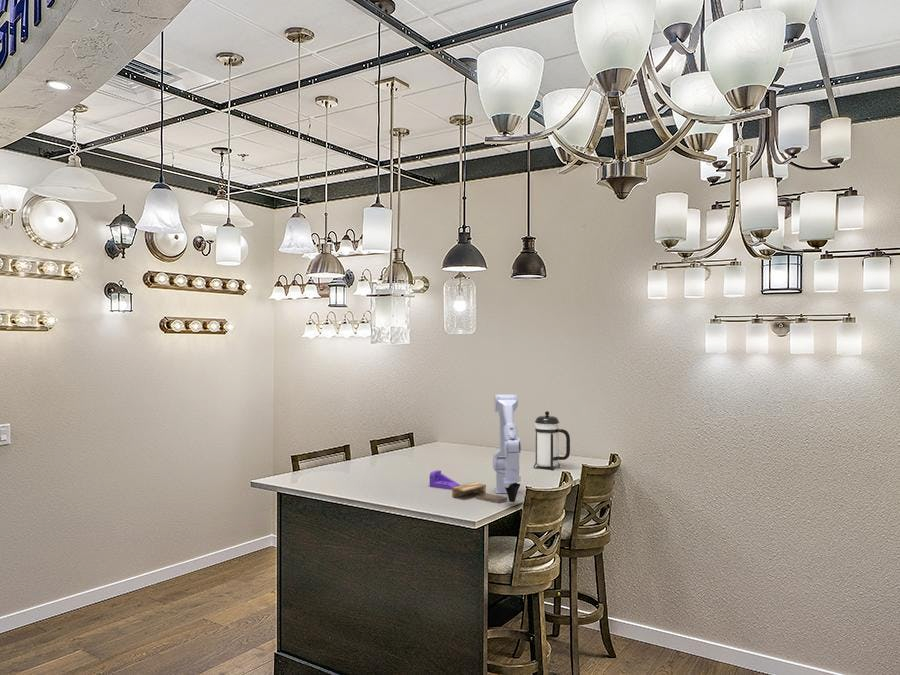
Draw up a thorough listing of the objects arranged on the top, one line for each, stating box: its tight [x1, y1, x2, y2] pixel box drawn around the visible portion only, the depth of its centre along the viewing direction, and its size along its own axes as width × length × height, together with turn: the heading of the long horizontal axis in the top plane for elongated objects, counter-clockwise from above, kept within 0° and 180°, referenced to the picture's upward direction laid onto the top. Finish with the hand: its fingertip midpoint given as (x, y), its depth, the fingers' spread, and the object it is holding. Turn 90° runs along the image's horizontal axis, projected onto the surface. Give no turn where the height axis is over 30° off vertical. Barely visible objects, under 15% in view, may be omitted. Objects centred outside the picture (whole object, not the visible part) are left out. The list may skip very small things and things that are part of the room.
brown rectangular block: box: [451, 481, 487, 498], centre depth 286 cm, size 7×14×4 cm, turn 136°
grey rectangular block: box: [475, 492, 508, 504], centre depth 280 cm, size 12×6×2 cm, turn 49°
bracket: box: [429, 469, 461, 491], centre depth 304 cm, size 12×7×7 cm, turn 61°
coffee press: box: [533, 411, 571, 471], centre depth 350 cm, size 17×16×30 cm
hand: (512, 501), depth 272 cm, fingers closed
